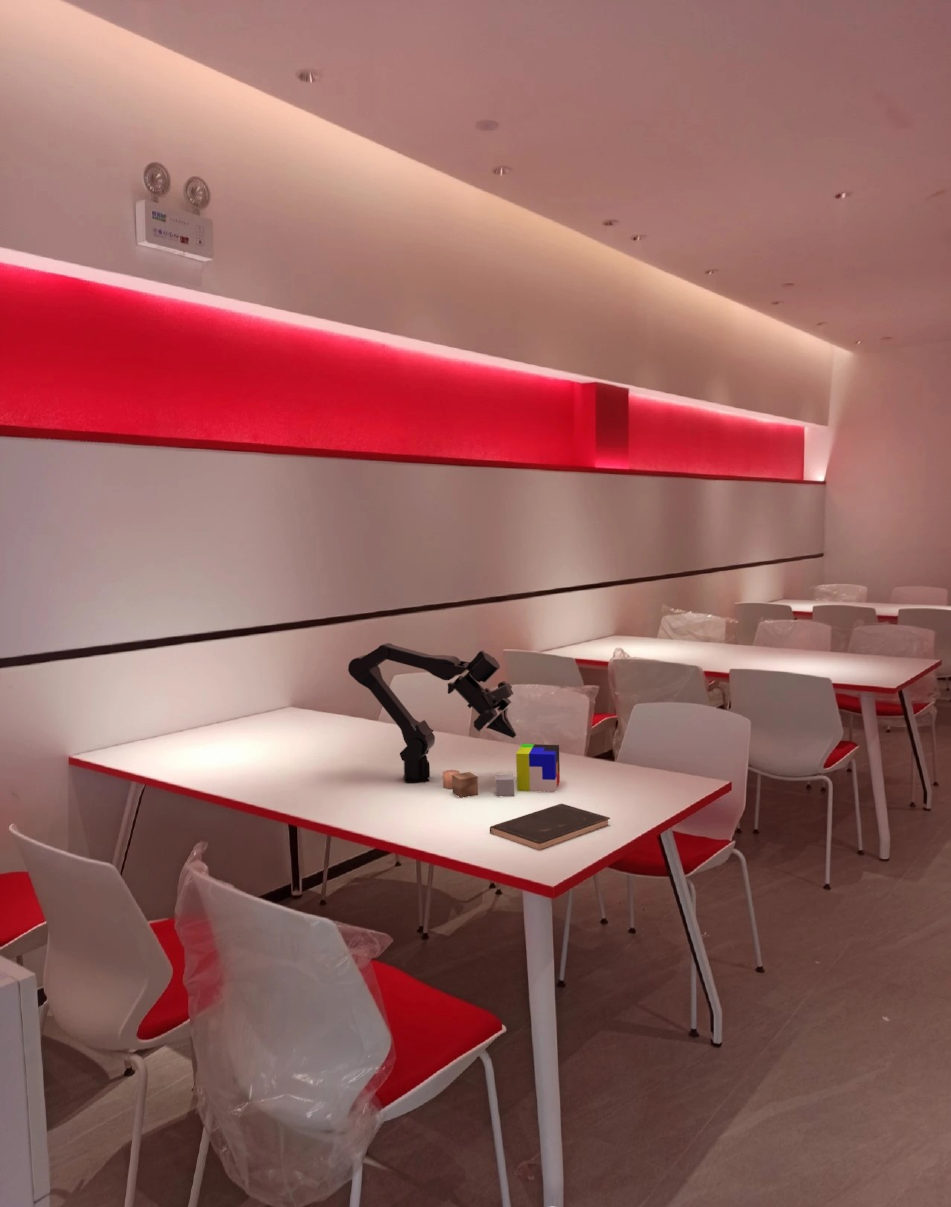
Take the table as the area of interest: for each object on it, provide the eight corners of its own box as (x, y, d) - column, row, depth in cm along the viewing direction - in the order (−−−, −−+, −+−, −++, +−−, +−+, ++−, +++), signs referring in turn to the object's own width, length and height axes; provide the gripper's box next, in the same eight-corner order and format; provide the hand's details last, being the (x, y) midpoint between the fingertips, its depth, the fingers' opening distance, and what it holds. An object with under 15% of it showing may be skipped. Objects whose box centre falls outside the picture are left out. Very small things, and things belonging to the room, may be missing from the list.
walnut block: (460, 798, 241) (459, 779, 241) (452, 793, 246) (452, 774, 245) (478, 795, 243) (477, 776, 243) (470, 790, 248) (469, 771, 248)
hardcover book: (610, 827, 218) (610, 817, 217) (539, 853, 202) (539, 842, 202) (559, 812, 230) (559, 802, 229) (489, 835, 215) (489, 825, 214)
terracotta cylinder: (444, 789, 249) (444, 775, 249) (442, 785, 253) (441, 770, 253) (461, 788, 250) (460, 773, 249) (458, 784, 254) (458, 769, 254)
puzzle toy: (555, 792, 244) (554, 754, 243) (517, 791, 246) (516, 753, 245) (559, 781, 254) (559, 745, 253) (522, 780, 256) (522, 744, 255)
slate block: (496, 797, 242) (496, 779, 241) (496, 791, 246) (495, 775, 246) (514, 796, 242) (513, 779, 241) (513, 791, 246) (513, 774, 246)
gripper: (484, 679, 241) (527, 724, 239) (503, 667, 259) (543, 708, 257) (456, 708, 244) (498, 753, 242) (476, 695, 262) (515, 735, 260)
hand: (514, 736), depth 250 cm, fingers closed
